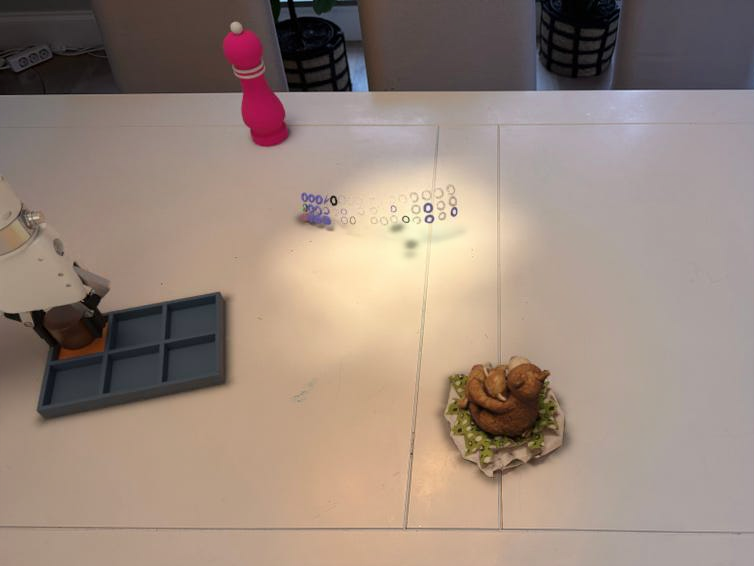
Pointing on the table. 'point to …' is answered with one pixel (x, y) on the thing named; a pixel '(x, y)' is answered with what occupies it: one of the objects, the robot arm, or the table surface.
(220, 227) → the table surface
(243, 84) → the pepper mill
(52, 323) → the brown cylinder
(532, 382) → the bear figurine
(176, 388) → the grid
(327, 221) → the ring set
